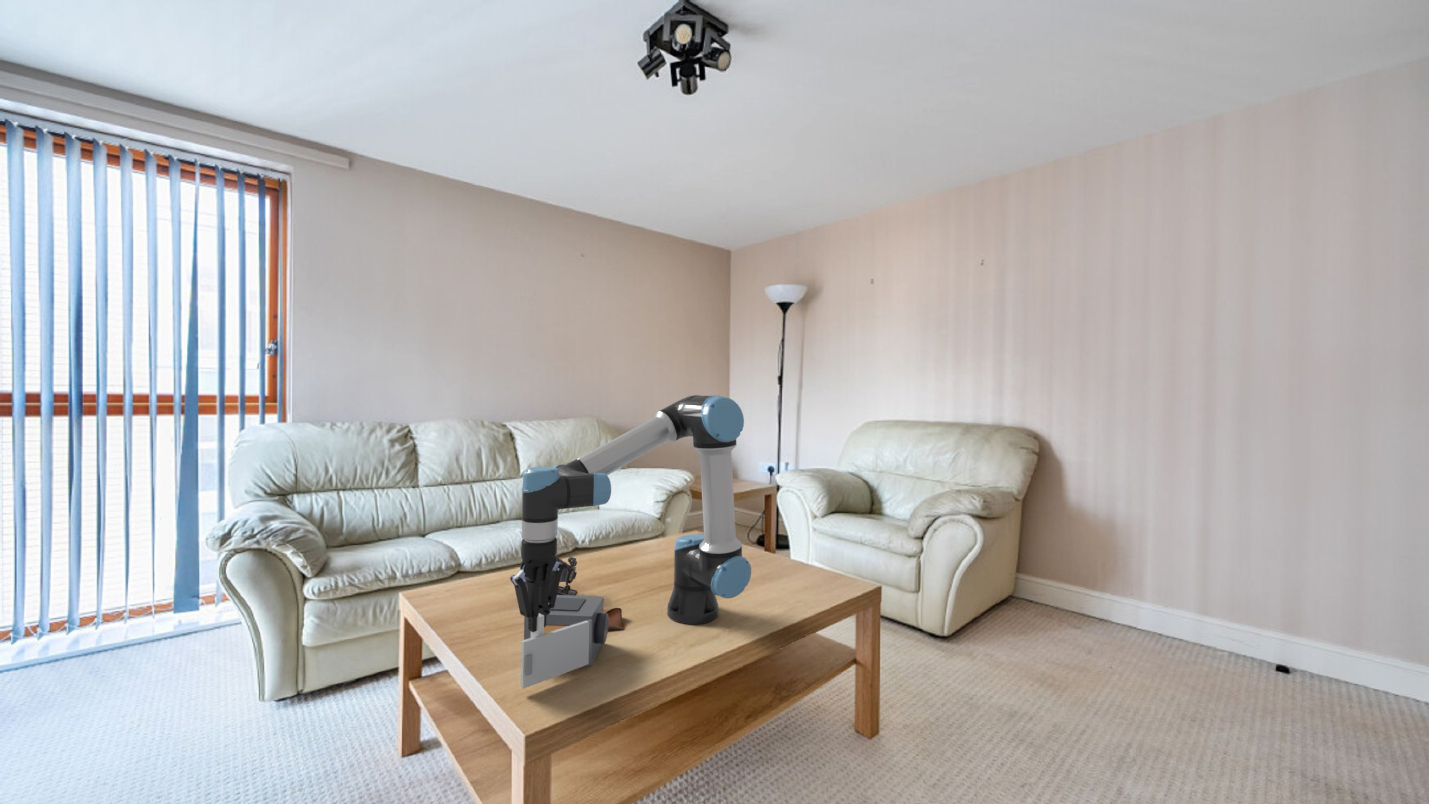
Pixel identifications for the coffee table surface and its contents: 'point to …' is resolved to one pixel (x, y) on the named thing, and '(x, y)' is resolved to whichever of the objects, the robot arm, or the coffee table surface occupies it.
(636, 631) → the coffee table surface
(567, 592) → the camera
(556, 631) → the door
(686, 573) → the robot arm
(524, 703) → the coffee table surface
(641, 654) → the coffee table surface
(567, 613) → the panel
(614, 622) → the sunglasses case
